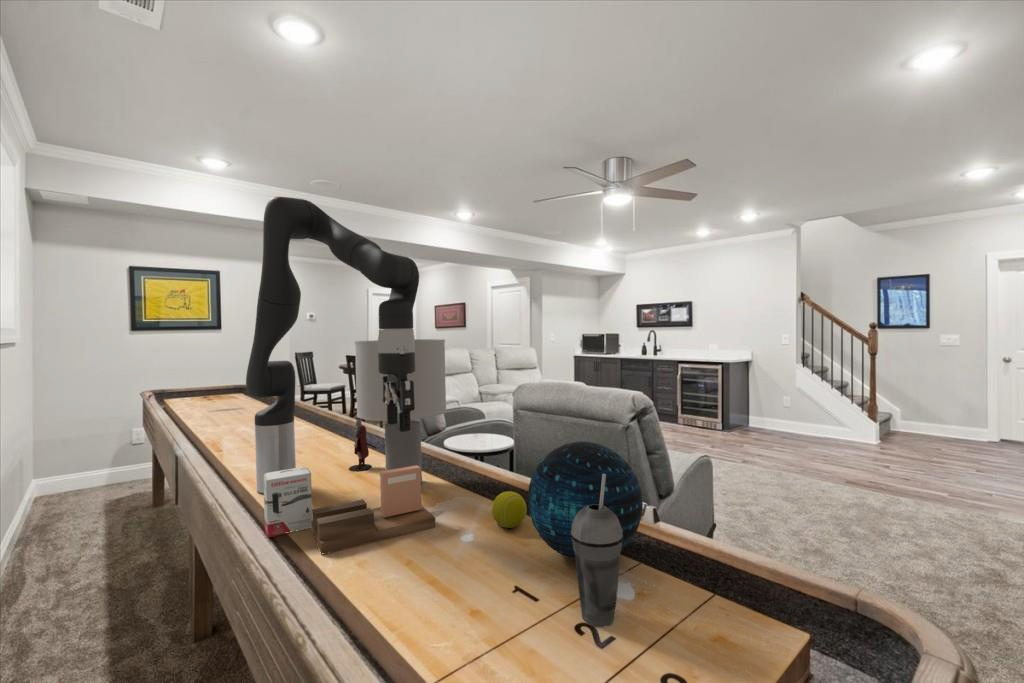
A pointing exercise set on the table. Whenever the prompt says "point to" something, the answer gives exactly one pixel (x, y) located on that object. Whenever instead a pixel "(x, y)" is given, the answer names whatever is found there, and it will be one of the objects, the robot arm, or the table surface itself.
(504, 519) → the tennis ball
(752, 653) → the table surface
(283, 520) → the ink box
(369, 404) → the lamp
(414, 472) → the stub
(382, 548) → the table surface
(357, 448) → the figurine
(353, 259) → the robot arm
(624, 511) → the decorative sphere
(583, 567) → the beverage cup
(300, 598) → the table surface
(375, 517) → the block
